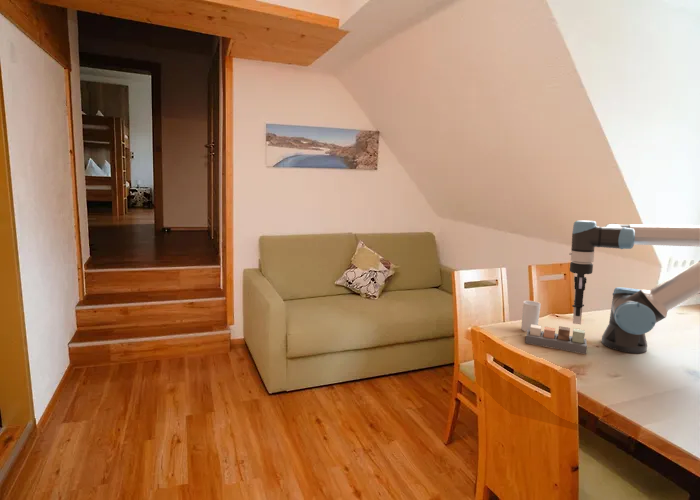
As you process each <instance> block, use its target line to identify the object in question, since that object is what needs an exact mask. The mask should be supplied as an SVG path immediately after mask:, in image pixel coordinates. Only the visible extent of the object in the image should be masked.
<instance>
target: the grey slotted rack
mask: <svg viewBox="0 0 700 500" xmlns="http://www.w3.org/2000/svg"><path fill="white" fill-rule="evenodd" d="M572 336H573V335H569V341H567V340H561V339H558V333H555V336H554V339H553V338H547V337H544V330H543V331H542V330H541V335H540V336H536V335H530V329H528V331H527V332H526V335H525V344H529V345H534V346H540V347H546V348H550V349H555V350H562V351H568V352H573V353H577V354H583V355H587V349H588V343H587V338H585V337H584V343H578V342H572Z"/></svg>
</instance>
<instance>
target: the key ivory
mask: <svg viewBox="0 0 700 500" xmlns="http://www.w3.org/2000/svg"><path fill="white" fill-rule="evenodd" d="M541 331H542V325H539V324H538V325H532V324H531V327H530V335H536V336H540V335H541Z"/></svg>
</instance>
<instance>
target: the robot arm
mask: <svg viewBox="0 0 700 500" xmlns="http://www.w3.org/2000/svg"><path fill="white" fill-rule="evenodd" d="M634 245H635V246H636V245H642V246H643V245H644V246H666V247H667V246H669V247H671V246H673V247H696V248H697V247H700V224H699V225H698V224H697V225H696V224H695V225H693V224H618V223H610V224H609V223H608V224H606V225H605V226H597V221H595V220H584V219H583V220H576V221H574V223H573V226H572V234H571V249H570V250H571V252H569V253H568V254H569V256H570V263H569V272H570V273H572V274H576V276H574V280H573V281H574V291H575V292H574V300H573V302H574V304H572V305H571V306H572V308H573V314H572V315H573V316H572V317H573V318H572V324H574V325H582V316H583V315H582V313H583V307H585V303H584V302H583V301H584V293H585V292H584V291H585V290H586V284H587V277H585V275H590V274H591V275H592V274H593V272H594V271H593V270H594V264H593V263H594V261H595V248H608V249H620V250H625V249H626V250H631V249H633V248H634ZM698 294H700V260H698V261H697V262H695V263H693V264H691V265H690V266H688V267H686V268H685V269H683V270H681V271H680V272H678V273H676V274H674V275H673V276H670V278H668V279H666V280H664V281H663V282H661V283H659V284H658V285H656V286H654V287H652V288H650V289H648V290H647V289H638V288H632V287H631V288H630V287H618V286H617V287H615V288H614V289H613V292H612V300H611V308H610V314H609V315H610V316H609V322H608V324H607V326H606V329H605V330H604V332H603V334H602V336H601V344H602V345H603V346H606V347H608V348H610V349H613V350H616V351H620V352H624V353H631V354H643V353H646V352H647V351H648V342H647V337H646V334H648V333H649V332H651V330H653V329H654V327H655V326H656V324H657V323H659V322H660V321H662V320H664V319H666V318H667V316H668V311H670V310H672V309H674V308H676V307H677V306H679V305H681V304H683V303H685V302H686V301H688V300H689V299H692V298H693V297H695V296H696V295H698ZM583 303H584V304H583Z"/></svg>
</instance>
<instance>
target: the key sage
mask: <svg viewBox="0 0 700 500" xmlns="http://www.w3.org/2000/svg"><path fill="white" fill-rule="evenodd" d="M585 335H586V331H585V329H580V328H579V329H578V328H574V327H573V331H572V335H571V336H572V342H578V343H584V338H585Z"/></svg>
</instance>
